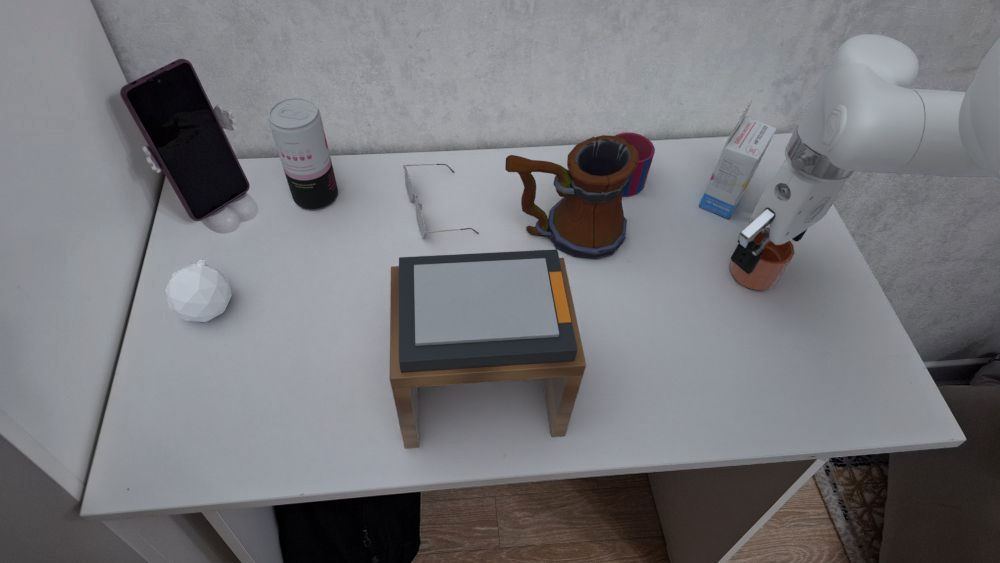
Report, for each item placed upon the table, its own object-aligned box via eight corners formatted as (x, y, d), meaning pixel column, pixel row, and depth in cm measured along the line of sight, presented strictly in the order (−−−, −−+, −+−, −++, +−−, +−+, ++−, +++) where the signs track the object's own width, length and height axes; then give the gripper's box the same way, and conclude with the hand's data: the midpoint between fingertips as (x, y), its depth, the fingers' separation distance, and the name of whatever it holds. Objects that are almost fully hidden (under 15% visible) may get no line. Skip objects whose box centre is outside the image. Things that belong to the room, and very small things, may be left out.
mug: (504, 266, 84) (510, 186, 72) (497, 205, 91) (501, 123, 79) (633, 260, 86) (659, 181, 74) (616, 201, 93) (638, 120, 81)
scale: (555, 261, 64) (557, 245, 62) (574, 361, 57) (578, 347, 55) (400, 269, 63) (398, 253, 61) (400, 373, 56) (398, 359, 54)
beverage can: (303, 177, 93) (279, 93, 81) (345, 184, 93) (326, 100, 81) (286, 207, 89) (257, 123, 77) (329, 215, 89) (307, 132, 77)
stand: (548, 338, 77) (563, 257, 65) (565, 436, 70) (586, 365, 57) (404, 347, 76) (390, 266, 63) (404, 448, 68) (389, 378, 55)
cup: (648, 196, 94) (659, 162, 88) (583, 197, 93) (590, 163, 88) (639, 166, 98) (649, 131, 92) (577, 167, 97) (583, 132, 92)
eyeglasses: (402, 180, 94) (402, 159, 91) (453, 173, 96) (455, 153, 93) (424, 247, 86) (424, 227, 83) (479, 238, 88) (481, 219, 85)
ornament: (165, 307, 78) (170, 247, 76) (229, 311, 81) (235, 254, 79) (159, 330, 72) (164, 265, 70) (228, 334, 75) (235, 272, 73)
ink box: (729, 221, 91) (767, 142, 79) (697, 207, 93) (730, 128, 81) (748, 188, 96) (787, 109, 84) (717, 175, 97) (751, 95, 85)
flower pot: (785, 278, 85) (804, 250, 80) (755, 299, 82) (772, 271, 78) (749, 249, 88) (765, 220, 83) (719, 268, 86) (733, 240, 81)
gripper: (803, 201, 63) (743, 299, 77) (899, 140, 69) (829, 240, 83) (746, 159, 66) (699, 260, 80) (843, 105, 73) (784, 206, 87)
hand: (765, 249), depth 82 cm, fingers open, 9 cm apart
